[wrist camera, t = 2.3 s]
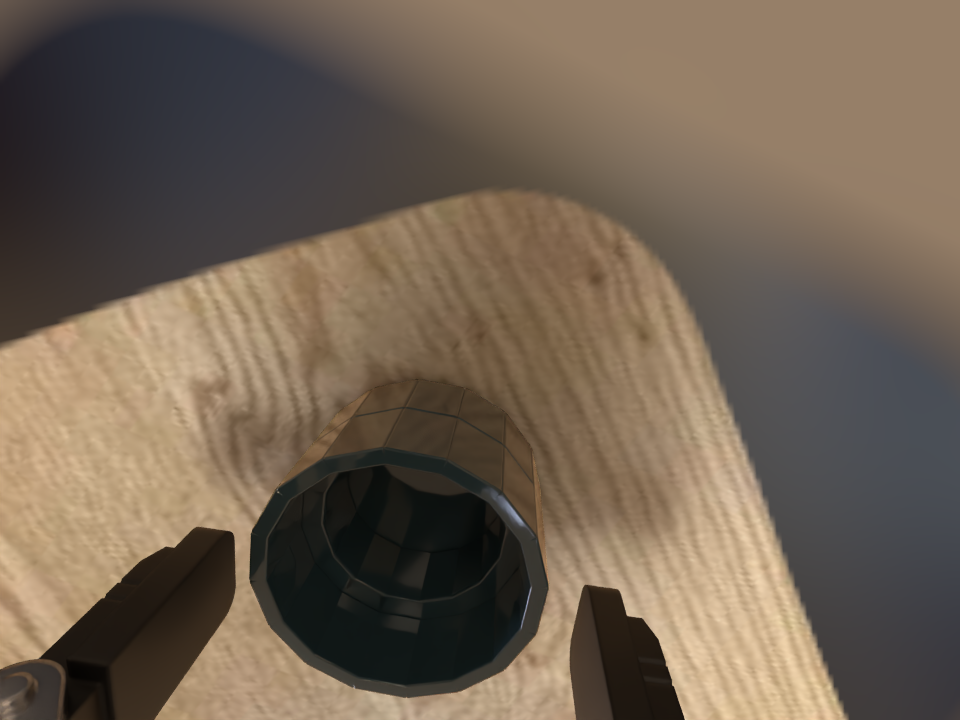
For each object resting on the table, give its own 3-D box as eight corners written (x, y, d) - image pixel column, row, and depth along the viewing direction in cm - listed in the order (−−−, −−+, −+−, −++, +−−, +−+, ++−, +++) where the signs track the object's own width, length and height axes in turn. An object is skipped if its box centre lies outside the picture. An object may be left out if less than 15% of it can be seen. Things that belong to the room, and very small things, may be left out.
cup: (292, 398, 15) (204, 479, 11) (512, 355, 14) (512, 423, 10) (357, 580, 17) (303, 710, 13) (555, 551, 16) (570, 680, 12)
